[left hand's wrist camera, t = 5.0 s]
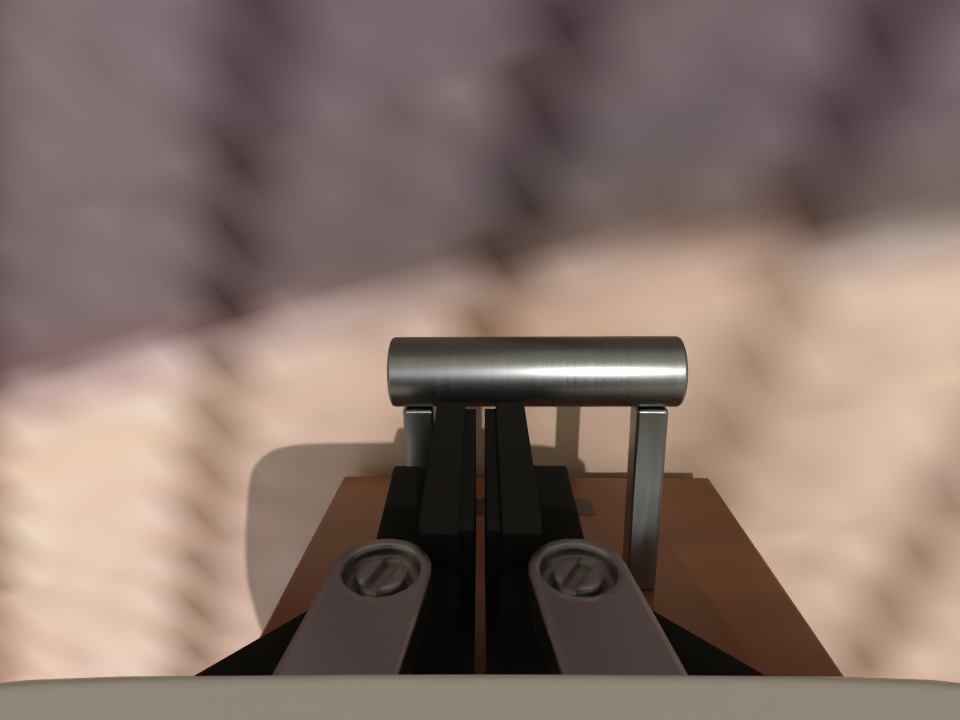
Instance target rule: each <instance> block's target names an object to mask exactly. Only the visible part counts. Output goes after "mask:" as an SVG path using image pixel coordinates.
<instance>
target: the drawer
mask: <svg viewBox="0 0 960 720" xmlns="http://www.w3.org/2000/svg"><path fill="white" fill-rule="evenodd" d="M687 383H688V362H687V354H686V350H685V346H684V343H683V341H682V340H681V338H679V337H677V336H602V337H395V338H393V339H392V340H391V343H390V346H389V351H388V360H387V384H388V393H389V398H390V401H391V404H392V405H393V406H406V407H405V409H404V412H403V416H404V436H405V456H406V466H428V459H429V453H430V446H431V440H432V433H433V427H434V420H435V414H436V407H437V402H465V406H474V407H496V402H524V407H631V417H630V434H629V452H628V469H627V478H569V479H570V483H571V488H572V492H573V496H574V500H575V504H576V508H577V512H578V516H579V520H580V524H581V528H582V532H583V536H584V540H587V541H593V542H596V543H598V544H601V545H603V546H605V547H608V548H609V549H611V550H612V551H613V552H615V553H616V554H618V555H619V556H620V557H621V559H622V560H623V561H624V562H625V564H626V565H627V567H628V568H629V570H630V572H631V574H632V576H633V577H634V579H635V581H636V583H637V585H638V586H639V588H640V590H641V592H642V594H643V595H644V597H645V599H646V601H647V602H648V604H649V606H650V608H651V609H652V610H653V611H655V612H657V613H658V614H660V615H662V616H664V617H665V618H667V619H669V620H671V621H672V622H674V623H676V624H677V625H679V626H681V627H683V628H684V629H686V630H688V631H690V632H691V633H693V634H695V635H696V636H698V637H700V638H702V639H703V640H705V641H707V642H709V643H710V644H712V645H714V646H715V647H717V648H719V649H721V650H722V651H724V652H726V653H727V654H729V655H731V656H733V657H734V658H736V659H738V660H740V661H741V662H743V663H745V664H746V665H748V666H750V667H752V668H753V669H755V670H757V671H759V672H760V673H762V674H764V675H765V676H828V677H844V676H843V675H842V673H841V672H840V670H839V669H838V667H837V666H836V665H835V663H834V662H833V660H832V659H831V657H830V656H829V654H828V653H827V651H826V650H825V648H824V647H823V646H822V644H821V643H820V641H819V640H818V638H817V637H816V635H815V634H814V632H813V631H812V629H811V628H810V627H809V625H808V624H807V622H806V621H805V619H804V618H803V616H802V615H801V613H800V612H799V610H798V609H797V608H796V606H795V605H794V603H793V602H792V600H791V599H790V597H789V596H788V594H787V593H786V591H785V590H784V589H783V587H782V586H781V584H780V583H779V581H778V580H777V578H776V577H775V575H774V574H773V572H772V571H771V570H770V568H769V567H768V565H767V564H766V562H765V561H764V559H763V558H762V556H761V555H760V553H759V552H758V551H757V549H756V548H755V546H754V545H753V543H752V542H751V540H750V539H749V537H748V536H747V534H746V533H745V532H744V530H743V529H742V527H741V526H740V524H739V523H738V521H737V520H736V518H735V517H734V515H733V514H732V513H731V511H730V510H729V508H728V507H727V505H726V504H725V502H724V501H723V499H722V498H721V496H720V495H719V494H718V492H717V491H716V489H715V488H714V486H713V485H712V483H711V482H710V480H709V479H707V478H663V474H664V461H665V448H666V434H667V421H668V411H667V409H666V407H677V406H679V405H681V404H682V402H683V400H684V398H685V394H686V390H687ZM391 478H392V477H345V478H344V480H343V482H342V483H341V485H340V487H339V489H338V491H337V493H336V495H335V497H334V498H333V500H332V502H331V504H330V506H329V508H328V510H327V512H326V514H325V515H324V517H323V519H322V521H321V523H320V525H319V527H318V529H317V530H316V532H315V534H314V536H313V538H312V540H311V542H310V544H309V546H308V547H307V549H306V551H305V553H304V555H303V557H302V559H301V561H300V562H299V564H298V566H297V568H296V570H295V572H294V574H293V576H292V578H291V579H290V581H289V583H288V585H287V587H286V589H285V591H284V593H283V594H282V596H281V598H280V600H279V602H278V604H277V606H276V608H275V610H274V611H273V613H272V615H271V617H270V619H269V621H268V623H267V625H266V627H265V628H264V630H263V632H262V634H261V636H260V638H261V637H262V636H264V635H266V634H268V633H269V632H271V631H273V630H275V629H276V628H278V627H280V626H281V625H283V624H285V623H287V622H288V621H290V620H292V619H294V618H295V617H297V616H299V615H300V614H302V613H304V612H306V611H307V610H309V608H310V606H311V604H312V602H313V601H314V599H315V597H316V595H317V594H318V592H319V590H320V588H321V586H322V585H323V583H324V581H325V579H326V577H327V576H328V574H329V572H330V570H331V568H332V567H333V565H334V564H335V562H336V561H337V560H338V559H339V557H340V556H341V555H342V554H344V553H345V552H347V551H348V550H349V549H351V548H352V547H355V546H357V545H359V544H362V543H364V542H367V541H373V540H376V539H377V535H378V531H379V527H380V523H381V519H382V515H383V511H384V507H385V503H386V499H387V495H388V490H389V486H390V482H391ZM475 675H486V632H485V477H476V599H475Z"/></svg>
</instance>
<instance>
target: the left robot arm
mask: <svg viewBox="0 0 960 720" xmlns="http://www.w3.org/2000/svg"><path fill="white" fill-rule="evenodd" d="M475 599H476V409H465V402H437V407H436V414H435V420H434V427H433V433H432V440H431V446H430V453H429V459H428V466H396V467H395V468H394V471H393V474H392V478H391V482H390V486H389V490H388V495H387V499H386V503H385V507H384V511H383V515H382V519H381V523H380V527H379V531H378V535H377V539H376V540H373V541H367V542H364V543H362V544H359V545H357V546H355V547H352V548H351V549H349V550H348V551H347V552H345V553H344V554H342V555H341V556H340V557H339V559H338V560H337V561H336V562H335V564H334V565H333V567H332V568H331V570H330V572H329V574H328V576H327V577H326V579H325V581H324V583H323V585H322V586H321V588H320V590H319V592H318V594H317V595H316V597H315V599H314V601H313V602H312V604H311V606H310V608H309V610H307V611H306V612H304V613H302V614H300V615H299V616H297V617H295V618H294V619H292V620H290V621H288V622H287V623H285V624H283V625H281V626H280V627H278V628H276V629H275V630H273V631H271V632H269V633H268V634H266V635H264V636H262V637H261V638H259V639H257V640H256V641H254V642H252V643H250V644H249V645H247V646H245V647H243V648H242V649H240V650H238V651H237V652H235V653H233V654H231V655H230V656H228V657H226V658H224V659H223V660H221V661H219V662H217V663H216V664H214V665H212V666H211V667H209V668H207V669H205V670H204V671H202V672H200V673H198V674H197V675H195V676H136V677H97V678H70V679H43V680H24V681H14V682H5V683H0V720H960V683H955V682H946V681H936V680H917V679H890V678H863V677H828V676H765V675H764V674H762V673H760V672H759V671H757V670H755V669H753V668H752V667H750V666H748V665H746V664H745V663H743V662H741V661H740V660H738V659H736V658H734V657H733V656H731V655H729V654H727V653H726V652H724V651H722V650H721V649H719V648H717V647H715V646H714V645H712V644H710V643H709V642H707V641H705V640H703V639H702V638H700V637H698V636H696V635H695V634H693V633H691V632H690V631H688V630H686V629H684V628H683V627H681V626H679V625H677V624H676V623H674V622H672V621H671V620H669V619H667V618H665V617H664V616H662V615H660V614H658V613H657V612H655V611H653V610H652V609H651V608H650V606H649V604H648V602H647V601H646V599H645V597H644V595H643V594H642V592H641V590H640V588H639V586H638V585H637V583H636V581H635V579H634V577H633V576H632V574H631V572H630V570H629V568H628V567H627V565H626V564H625V562H624V561H623V560H622V559H621V557H620V556H619V555H618V554H616V553H615V552H613V551H612V550H611V549H609V548H608V547H605V546H603V545H601V544H598V543H596V542H593V541H587V540H584V536H583V532H582V528H581V524H580V520H579V516H578V512H577V508H576V504H575V500H574V496H573V492H572V488H571V483H570V479H569V475H568V471H567V468H566V467H565V466H533V461H532V454H531V448H530V441H529V435H528V428H527V421H526V415H525V408H524V402H496V409H485V632H486V675H475Z"/></svg>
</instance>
